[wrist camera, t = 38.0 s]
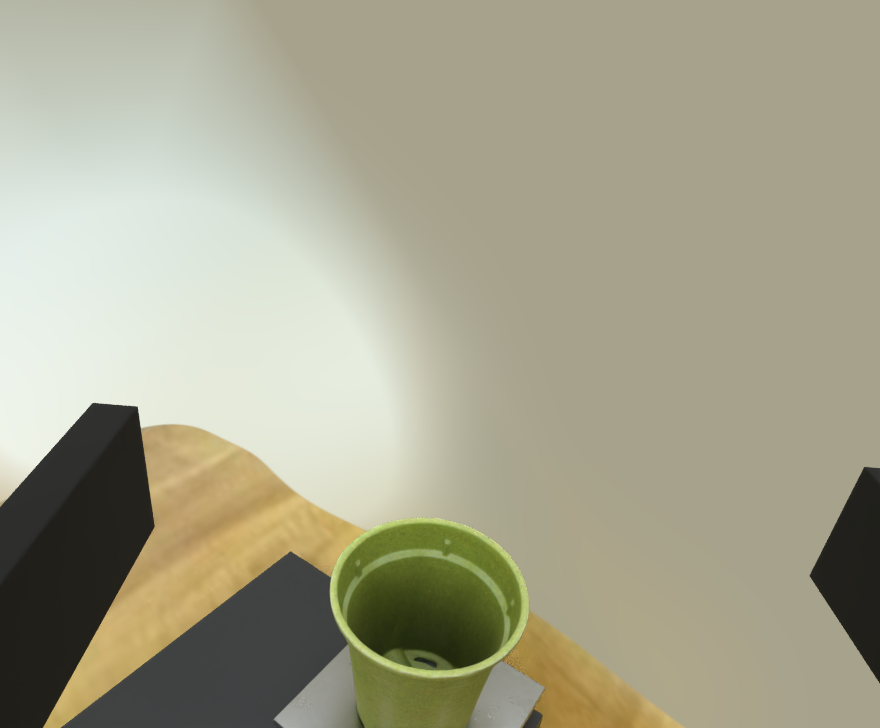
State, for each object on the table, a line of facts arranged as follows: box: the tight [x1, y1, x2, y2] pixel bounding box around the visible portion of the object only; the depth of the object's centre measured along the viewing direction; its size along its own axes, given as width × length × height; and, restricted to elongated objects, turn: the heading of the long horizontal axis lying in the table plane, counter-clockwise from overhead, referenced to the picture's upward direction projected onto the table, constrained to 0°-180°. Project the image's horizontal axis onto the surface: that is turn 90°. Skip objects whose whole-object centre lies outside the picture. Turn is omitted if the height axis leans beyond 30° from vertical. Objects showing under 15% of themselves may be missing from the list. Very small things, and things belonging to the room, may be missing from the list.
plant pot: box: [330, 518, 529, 728], centre depth 33 cm, size 9×9×9 cm
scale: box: [61, 552, 542, 728], centre depth 35 cm, size 20×17×3 cm
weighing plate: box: [274, 645, 545, 728], centre depth 35 cm, size 10×10×1 cm
